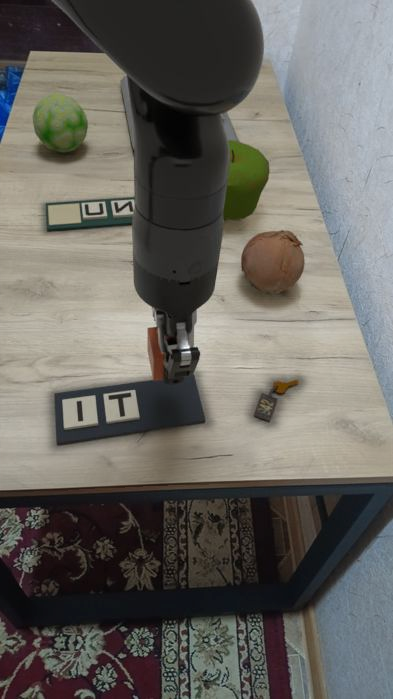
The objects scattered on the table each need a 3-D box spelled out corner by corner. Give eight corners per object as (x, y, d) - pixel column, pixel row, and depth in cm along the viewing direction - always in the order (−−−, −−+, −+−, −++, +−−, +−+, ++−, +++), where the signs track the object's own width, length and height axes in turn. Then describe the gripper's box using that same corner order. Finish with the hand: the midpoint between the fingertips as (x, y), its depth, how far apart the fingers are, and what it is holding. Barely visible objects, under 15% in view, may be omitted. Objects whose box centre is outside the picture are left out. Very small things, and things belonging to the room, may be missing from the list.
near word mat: (57, 445, 58) (55, 440, 57) (54, 395, 62) (53, 390, 61) (205, 422, 61) (206, 417, 60) (193, 376, 65) (194, 371, 64)
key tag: (267, 424, 61) (268, 422, 61) (247, 411, 62) (248, 409, 62) (299, 381, 66) (300, 379, 65) (279, 370, 67) (280, 367, 66)
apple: (190, 228, 84) (194, 169, 75) (191, 186, 91) (195, 127, 82) (262, 232, 84) (275, 174, 75) (258, 190, 92) (269, 132, 83)
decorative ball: (36, 162, 92) (25, 110, 84) (40, 134, 98) (31, 82, 90) (89, 163, 93) (83, 111, 85) (91, 135, 99) (85, 84, 91)
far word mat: (47, 231, 81) (46, 225, 80) (46, 205, 85) (44, 199, 84) (155, 223, 84) (155, 217, 83) (149, 198, 88) (149, 192, 87)
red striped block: (153, 381, 54) (153, 359, 51) (147, 350, 56) (147, 327, 53) (192, 376, 55) (195, 354, 51) (184, 345, 57) (187, 322, 54)
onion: (275, 282, 81) (305, 228, 76) (292, 313, 74) (327, 256, 69) (224, 266, 78) (252, 208, 73) (237, 296, 71) (270, 234, 66)
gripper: (122, 198, 45) (128, 319, 59) (145, 312, 37) (145, 422, 51) (201, 193, 47) (189, 312, 60) (240, 302, 39) (216, 412, 52)
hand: (169, 362), depth 55 cm, fingers closed on red striped block, 4 cm apart
